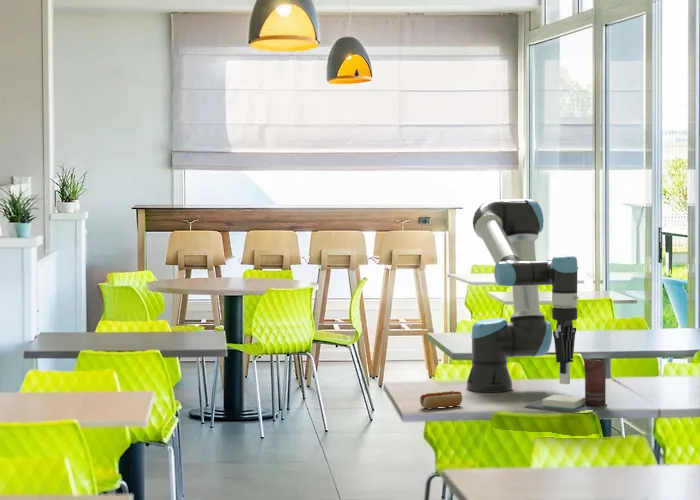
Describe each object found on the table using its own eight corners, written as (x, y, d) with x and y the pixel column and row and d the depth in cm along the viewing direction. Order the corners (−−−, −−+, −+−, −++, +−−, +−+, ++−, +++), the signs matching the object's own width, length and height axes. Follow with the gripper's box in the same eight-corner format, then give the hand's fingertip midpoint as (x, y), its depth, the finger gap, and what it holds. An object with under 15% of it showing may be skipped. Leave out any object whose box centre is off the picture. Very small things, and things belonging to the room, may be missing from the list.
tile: (554, 401, 332) (542, 406, 324) (554, 394, 332) (542, 399, 324) (584, 404, 326) (573, 409, 319) (584, 397, 326) (573, 402, 319)
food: (425, 411, 322) (425, 395, 322) (417, 408, 327) (417, 392, 327) (465, 407, 328) (465, 391, 328) (456, 404, 333) (456, 388, 333)
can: (581, 403, 328) (581, 358, 328) (601, 402, 329) (601, 357, 328) (587, 407, 322) (587, 361, 322) (608, 406, 323) (608, 360, 322)
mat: (524, 407, 326) (524, 405, 326) (546, 399, 339) (546, 397, 339) (587, 414, 314) (587, 412, 314) (606, 405, 328) (606, 403, 328)
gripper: (568, 309, 317) (567, 388, 318) (584, 305, 328) (584, 381, 329) (544, 307, 321) (544, 385, 322) (561, 304, 332) (561, 379, 333)
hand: (564, 383), depth 326 cm, fingers closed
